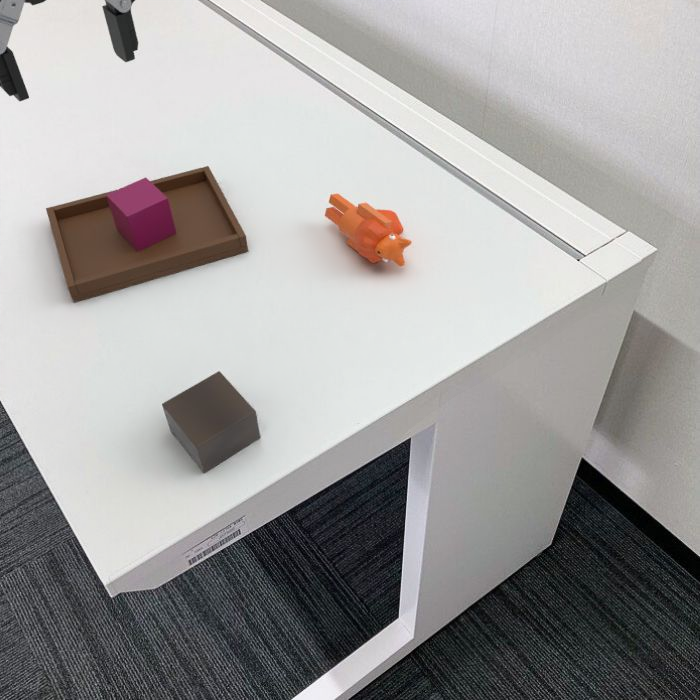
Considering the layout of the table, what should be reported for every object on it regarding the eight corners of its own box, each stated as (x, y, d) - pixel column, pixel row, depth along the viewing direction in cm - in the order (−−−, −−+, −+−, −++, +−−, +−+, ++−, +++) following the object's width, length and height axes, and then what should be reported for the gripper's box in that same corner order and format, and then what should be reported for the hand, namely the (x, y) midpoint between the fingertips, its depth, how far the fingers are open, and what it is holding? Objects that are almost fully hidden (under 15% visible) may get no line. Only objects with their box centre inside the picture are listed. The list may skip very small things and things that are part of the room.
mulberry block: (137, 251, 85) (126, 216, 82) (116, 230, 88) (105, 194, 84) (176, 233, 87) (167, 197, 84) (155, 212, 90) (145, 177, 86)
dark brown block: (204, 473, 67) (196, 447, 64) (170, 430, 70) (161, 403, 67) (261, 437, 69) (256, 411, 66) (225, 397, 72) (219, 370, 69)
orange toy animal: (317, 187, 84) (390, 240, 78) (366, 179, 89) (438, 229, 83) (308, 227, 87) (378, 281, 81) (356, 218, 92) (425, 269, 86)
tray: (73, 302, 81) (67, 287, 80) (51, 223, 90) (45, 208, 89) (248, 251, 86) (246, 235, 85) (211, 181, 95) (208, 165, 94)
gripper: (77, -213, 50) (135, 29, 62) (-150, -168, 44) (-38, 89, 56) (131, -190, 46) (181, 64, 58) (-110, -137, 40) (1, 132, 52)
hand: (73, 76), depth 57 cm, fingers open, 8 cm apart
